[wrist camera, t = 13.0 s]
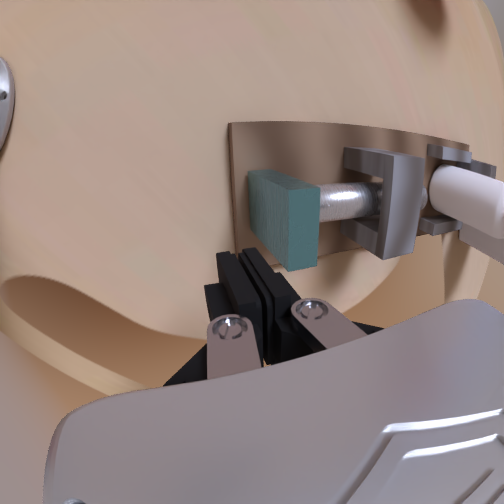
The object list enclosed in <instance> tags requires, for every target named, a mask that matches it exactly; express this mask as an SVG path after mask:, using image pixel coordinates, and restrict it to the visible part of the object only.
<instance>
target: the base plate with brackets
mask: <svg viewBox="0 0 504 504" xmlns="http://www.w3.org/2000/svg"><path fill="white" fill-rule="evenodd" d="M228 128H229V146H230V164H231V181H232V198H233V213H234V228H235V243H236V257H237V259H238V253H242V249H246V248H252V247H256V249H257V250H258V251H259V252H260V254H261V255H262V256H263V258H264V259H265V260H266V262H267V263H268V264H269V265H274V264H280V262H279V261H278V260H277V259H276V258H275V257H274V256H273V254H272V253H271V252H270V251H269V250H268V249H267V248H266V246H265V245H264V244H263V243H262V242H261V241H260V240H259V239H258V238H257V236H256V235H255V234H254V233H253V232H252V231H251V230H250V213H249V191H248V171H252V170H265V169H272V170H275V171H278V172H281V173H283V174H286V175H289V176H291V177H294V178H297V179H299V180H302V181H305V182H307V183H310V184H312V185H319V184H336V183H356V182H383V188H382V200H381V210H380V215H374V216H366V217H358V218H351V219H343V220H335V221H328V222H320V223H319V238H318V255H317V256H322V255H327V254H332V253H337V252H342V251H347V250H352V249H357V248H362V247H364V248H365V249H367V250H368V251H370V252H371V253H373V254H374V255H376V256H377V257H379V258H380V259H382V260H385V259H389V258H393V257H397V256H401V255H405V254H409V253H413V249H414V244H415V238H416V236H420V235H425V234H430V235H432V236H434V235H439V234H443V233H447V232H452V231H456V230H460V229H462V225H463V222H461V221H459V220H457V219H454V218H452V217H450V216H448V215H445V214H443V213H441V212H439V211H437V210H435V209H434V208H433V207H432V205H431V202H430V200H429V183H430V179H431V176H432V174H433V172H434V171H435V169H436V168H437V167H439V166H440V165H442V164H447V165H451V166H455V167H458V168H462V169H465V170H469V171H472V172H475V173H478V174H482V175H485V176H488V177H490V178H493V179H495V176H496V166H493V165H490V164H487V163H483V162H480V161H476V160H472V159H471V155H472V152H469V145H467V144H463V143H459V142H455V141H451V140H446V139H442V138H437V137H432V136H428V135H422V134H417V133H411V132H405V131H399V130H392V129H385V128H378V127H369V126H360V125H350V124H337V123H321V122H294V121H260V122H233V123H228ZM423 185H424V187H425V188H426V191H427V197H428V198H427V203H426V205H425V207H424V208H423V209H421V210H420V206H421V199H422V190H423ZM473 228H474V227H473Z"/></svg>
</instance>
